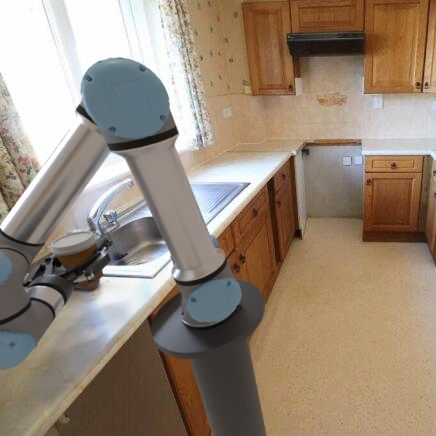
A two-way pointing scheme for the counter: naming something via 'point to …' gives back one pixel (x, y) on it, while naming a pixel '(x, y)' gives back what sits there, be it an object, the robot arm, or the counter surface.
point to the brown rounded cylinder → (89, 285)
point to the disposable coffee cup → (75, 250)
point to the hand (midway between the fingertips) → (86, 247)
